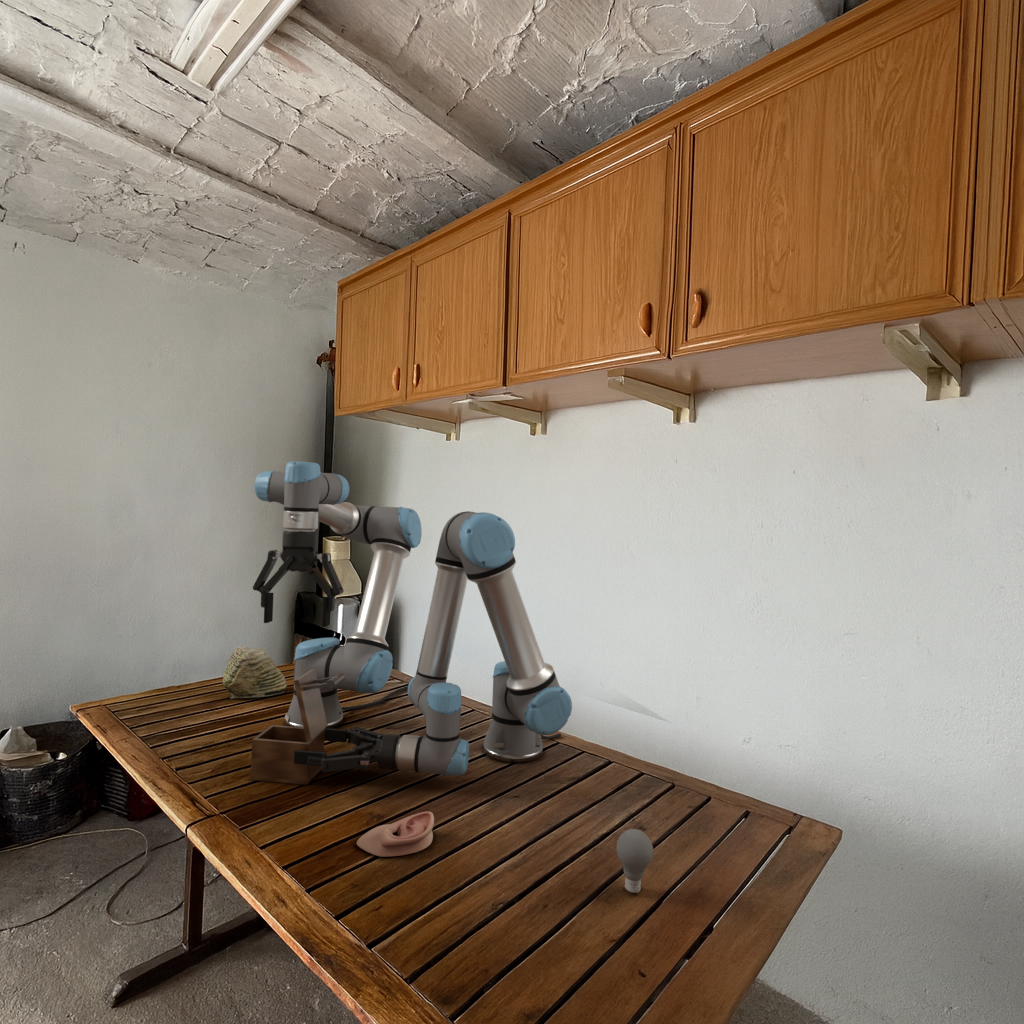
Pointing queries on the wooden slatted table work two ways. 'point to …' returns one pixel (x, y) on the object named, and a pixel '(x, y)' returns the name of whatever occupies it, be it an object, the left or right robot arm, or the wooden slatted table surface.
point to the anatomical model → (399, 836)
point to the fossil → (252, 674)
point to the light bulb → (634, 857)
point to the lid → (313, 701)
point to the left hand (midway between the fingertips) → (297, 624)
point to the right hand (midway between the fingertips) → (307, 744)
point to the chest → (283, 755)
